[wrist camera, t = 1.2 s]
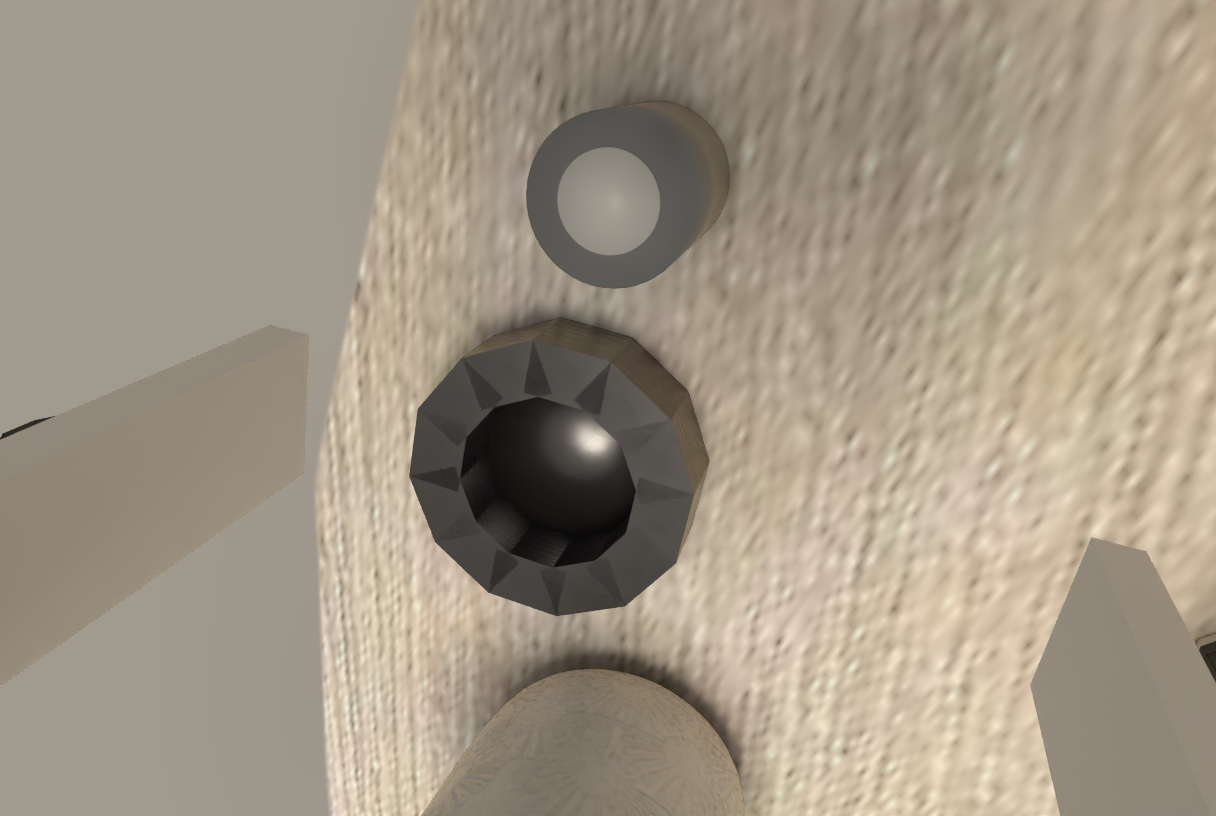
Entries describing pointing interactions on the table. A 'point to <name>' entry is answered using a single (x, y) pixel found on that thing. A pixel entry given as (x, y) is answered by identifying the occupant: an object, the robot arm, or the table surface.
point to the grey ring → (560, 467)
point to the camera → (1208, 652)
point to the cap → (626, 191)
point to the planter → (593, 755)
